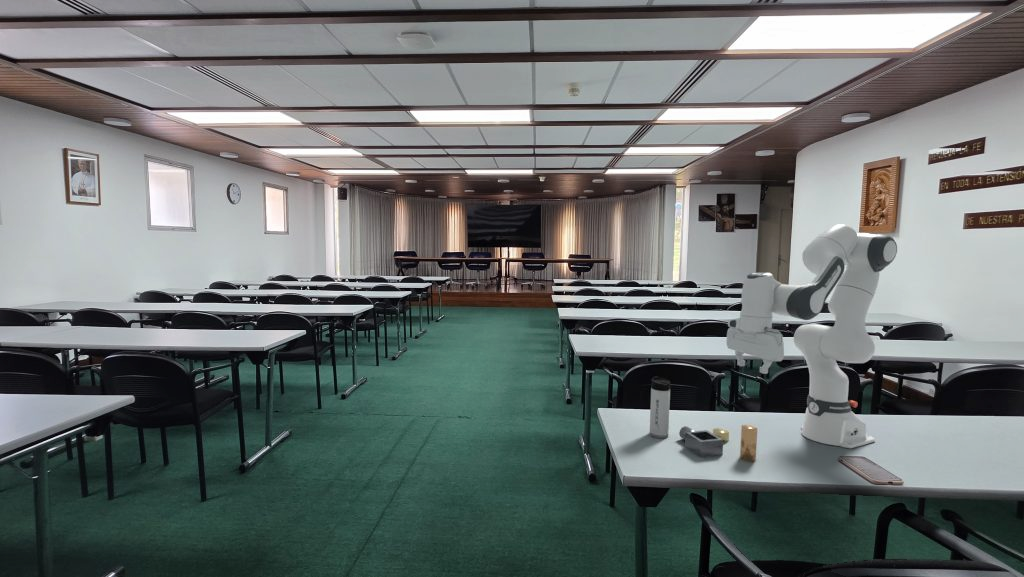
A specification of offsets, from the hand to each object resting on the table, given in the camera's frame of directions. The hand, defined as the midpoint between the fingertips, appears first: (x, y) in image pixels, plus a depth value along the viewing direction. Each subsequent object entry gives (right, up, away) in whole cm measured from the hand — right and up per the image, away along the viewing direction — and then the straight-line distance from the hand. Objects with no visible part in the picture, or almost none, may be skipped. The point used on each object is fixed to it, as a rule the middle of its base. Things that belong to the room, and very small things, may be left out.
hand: (751, 369), depth 145 cm
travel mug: (-23, -27, +19) cm, 40 cm away
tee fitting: (-13, -27, +9) cm, 32 cm away
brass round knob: (-3, -27, +16) cm, 31 cm away
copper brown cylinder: (-1, -28, +1) cm, 28 cm away
